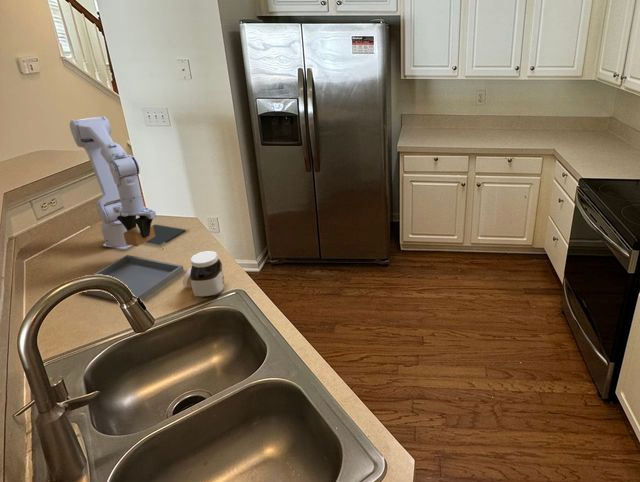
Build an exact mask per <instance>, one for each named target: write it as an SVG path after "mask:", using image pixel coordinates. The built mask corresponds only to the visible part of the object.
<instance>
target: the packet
mask: <svg viewBox="0 0 640 482" xmlns="http://www.w3.org/2000/svg"><path fill="white" fill-rule="evenodd" d="M154 237H155V232H154V228H153V225H152V224H151V227H150V236H148V237H146V238H143V237H142V235H141V232H140V229H139V227H138V225H136V227H134V228H132V229H130V230H129V231H127V232H125V233H124V238H125V242H126V244H127V245H131V246H133V247H140V246H141V245H143V244H145V243H146V242H147V241H148V240H150V239H152V238H154Z"/></svg>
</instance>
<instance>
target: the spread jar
mask: <svg viewBox="0 0 640 482" xmlns="http://www.w3.org/2000/svg"><path fill="white" fill-rule="evenodd" d="M190 263H191V267H190V268H189V269H188V270H187V271H186V273H185V274H184V276H183V278H182V284H183V286H184V287H185V288H188V289H190V288H191V290H192V293H193V295H194V297H196V298H199V299H204V300H205V299H206V300H208V299H212V298H216V297H218V296H219V295H221V294H222V293H223V291H224V289H225V274H224V269H223V264H222V261H221V259H219V258H218V252H216V251H213V250H204V251H200V252H197V253H195V254H194V255H193V256H191V257H190Z"/></svg>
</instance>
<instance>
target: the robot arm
mask: <svg viewBox="0 0 640 482" xmlns="http://www.w3.org/2000/svg"><path fill="white" fill-rule="evenodd" d="M69 129H70V132H71V135H72V137H73V141H74V143H75V144H76V146H77V147H78V148H83V149H84V151H85V152H86V154H87V156H88V159H89V162H90V164H91V166H92V169H93V172H94V175H95V177H96V180H97V183H98V185H99V188H100V190H101V193H102V196H101V197H100V198H99V199H98V200H97V202H96V205H95V206H96V208H97V213H98V217H99V219H100V221H101V222H102V223H101V228H100V229H101V232H102V236H103V240H104V243H103V245H102V246H103V247H107V248H111V249H112V248H116V249H121V250H126V249H128V248H130V247H131V246H132V245H127V244H126V242H125V238H124V233H125V232H127V231H129V230H130V229H132V228H134V227H136V226H138V227H139V229H140V232H141V235H142V237H143V238H146V237H148V236H150V227H151V225H152V222H153V220H154V218H156V217H157V213H156V210H152V209H150V208H149V207H147V206H145V204H144V200H143V195H142V189H141V186H140V182H139V176H138V175H140V166H139V163H138V161H137V159H136V157H134V156H133V155H131V154H127V152H126V151H125V150H124V148H123V147H122V146H121V144H119V143H117V142H114V141H113V139H112V137H111V133H112V126H111V123H110V121H109V119H108V117H105V115H101V116H96V117H87V118H81V119H71V120H70V122H69Z"/></svg>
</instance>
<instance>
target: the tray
mask: <svg viewBox="0 0 640 482" xmlns="http://www.w3.org/2000/svg"><path fill="white" fill-rule="evenodd" d="M184 272H185V269H184V266H183V265H181V264H176V263H171V262H166V261H160V260H154V259H149V258H146V257H140V256H134V255H130V254H126V255H125V256H124V255H123V257H121V258H119V259H117V260H116V261H114V262H112V263H110V264H109V265H107V266H105V267H103V268H102V269H100V270H99V271H97V272H95V273H94V274H103V275H109V276H112V277H115V278H117V279H119V280H120V281H122V282H123V283H124V284H126V285H127V286H128V288H129V289H130V290H131V292H132V293H133V294H134V295H135V296H136V297H138V298H139V299H141V300H142V302H143V301H145V300H146V299H148V298H149V297H150V296H151V295H152V296H153V294H155V293H156V292H157V291H159V290H161V288H163V287H164V286H166V285H167V284H169V283H170V282H172V281H173V280H174V279H176V278H177V277H178V276H180V275H181V274H183V273H184ZM83 293H84V294H87V295H93V296H97V297H102V298H106V299H110V300H113V301H117V300H116V299H115V298H114V297H113V296H111V295H110V294H108V293H105V292H102V291H87V292H82V294H83Z"/></svg>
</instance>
